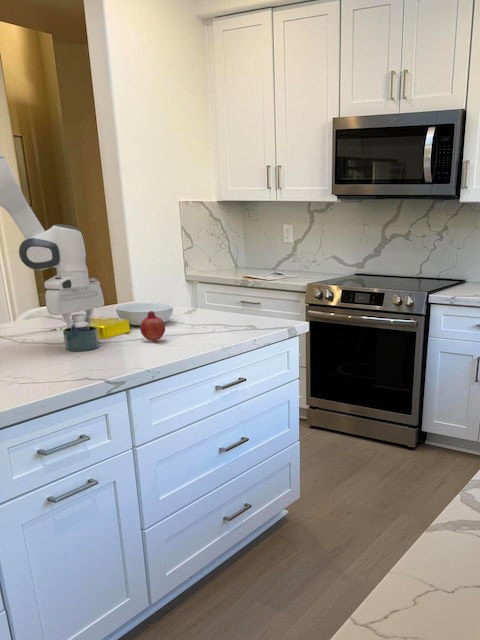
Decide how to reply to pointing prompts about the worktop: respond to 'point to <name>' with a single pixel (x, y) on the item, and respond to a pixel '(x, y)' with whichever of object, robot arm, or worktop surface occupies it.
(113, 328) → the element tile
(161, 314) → the serving bowl
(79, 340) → the dark teal round container
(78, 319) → the pill bottle
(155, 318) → the fruit
